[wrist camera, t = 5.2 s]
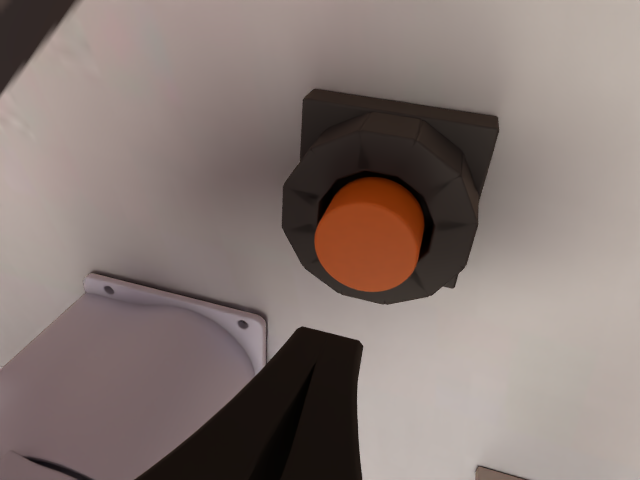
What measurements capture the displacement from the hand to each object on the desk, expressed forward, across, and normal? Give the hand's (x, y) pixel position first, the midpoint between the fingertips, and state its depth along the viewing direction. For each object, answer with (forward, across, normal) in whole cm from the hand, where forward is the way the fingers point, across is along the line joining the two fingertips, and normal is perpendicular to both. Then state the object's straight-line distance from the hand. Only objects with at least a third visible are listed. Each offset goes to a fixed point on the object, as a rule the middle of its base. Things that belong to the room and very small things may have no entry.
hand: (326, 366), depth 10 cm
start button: (+6, 0, 0) cm, 6 cm away
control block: (+9, 0, 0) cm, 9 cm away
